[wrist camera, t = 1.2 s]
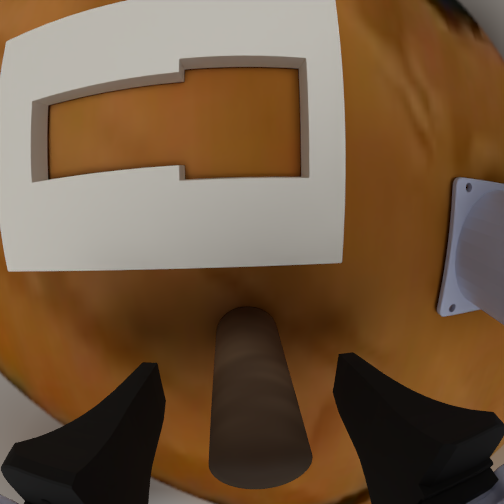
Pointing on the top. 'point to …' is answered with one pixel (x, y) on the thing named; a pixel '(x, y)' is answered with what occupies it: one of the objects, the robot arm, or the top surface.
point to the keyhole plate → (173, 177)
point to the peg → (254, 406)
